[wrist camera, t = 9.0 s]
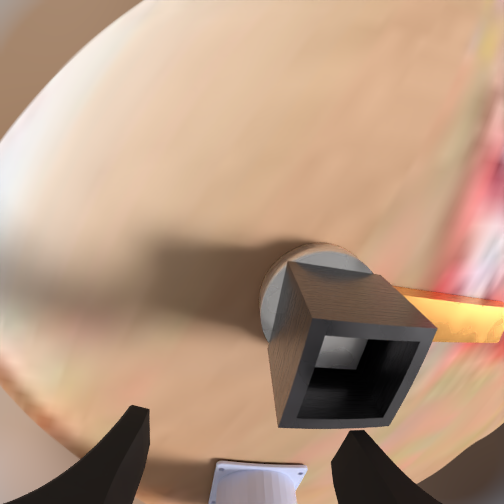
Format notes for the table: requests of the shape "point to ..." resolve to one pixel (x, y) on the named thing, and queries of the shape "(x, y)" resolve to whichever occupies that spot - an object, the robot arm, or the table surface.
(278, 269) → the ratchet
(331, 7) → the table surface
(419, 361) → the hollow square tube
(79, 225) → the table surface
